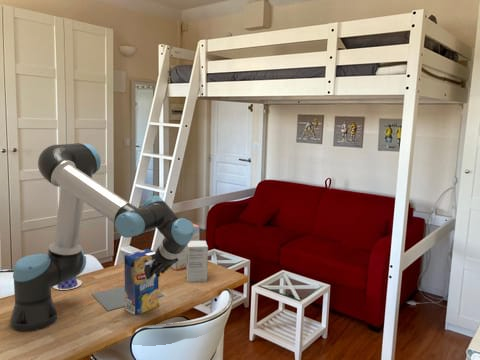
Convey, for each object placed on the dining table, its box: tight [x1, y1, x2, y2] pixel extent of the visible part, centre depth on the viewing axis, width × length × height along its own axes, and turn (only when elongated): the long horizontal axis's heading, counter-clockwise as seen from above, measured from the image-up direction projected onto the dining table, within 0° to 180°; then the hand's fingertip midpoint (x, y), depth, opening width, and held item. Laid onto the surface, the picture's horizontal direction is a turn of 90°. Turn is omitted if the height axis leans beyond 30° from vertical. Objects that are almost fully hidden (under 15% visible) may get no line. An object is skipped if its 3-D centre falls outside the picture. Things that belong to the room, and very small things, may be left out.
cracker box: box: [170, 223, 200, 271], centre depth 205 cm, size 14×6×21 cm, turn 130°
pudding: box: [52, 276, 83, 291], centre depth 179 cm, size 12×12×5 cm
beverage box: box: [123, 248, 159, 316], centre depth 158 cm, size 7×11×22 cm, turn 140°
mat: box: [91, 285, 165, 312], centre depth 171 cm, size 24×18×1 cm
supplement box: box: [185, 240, 209, 283], centre depth 191 cm, size 10×9×17 cm
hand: (147, 280), depth 156 cm, fingers closed
